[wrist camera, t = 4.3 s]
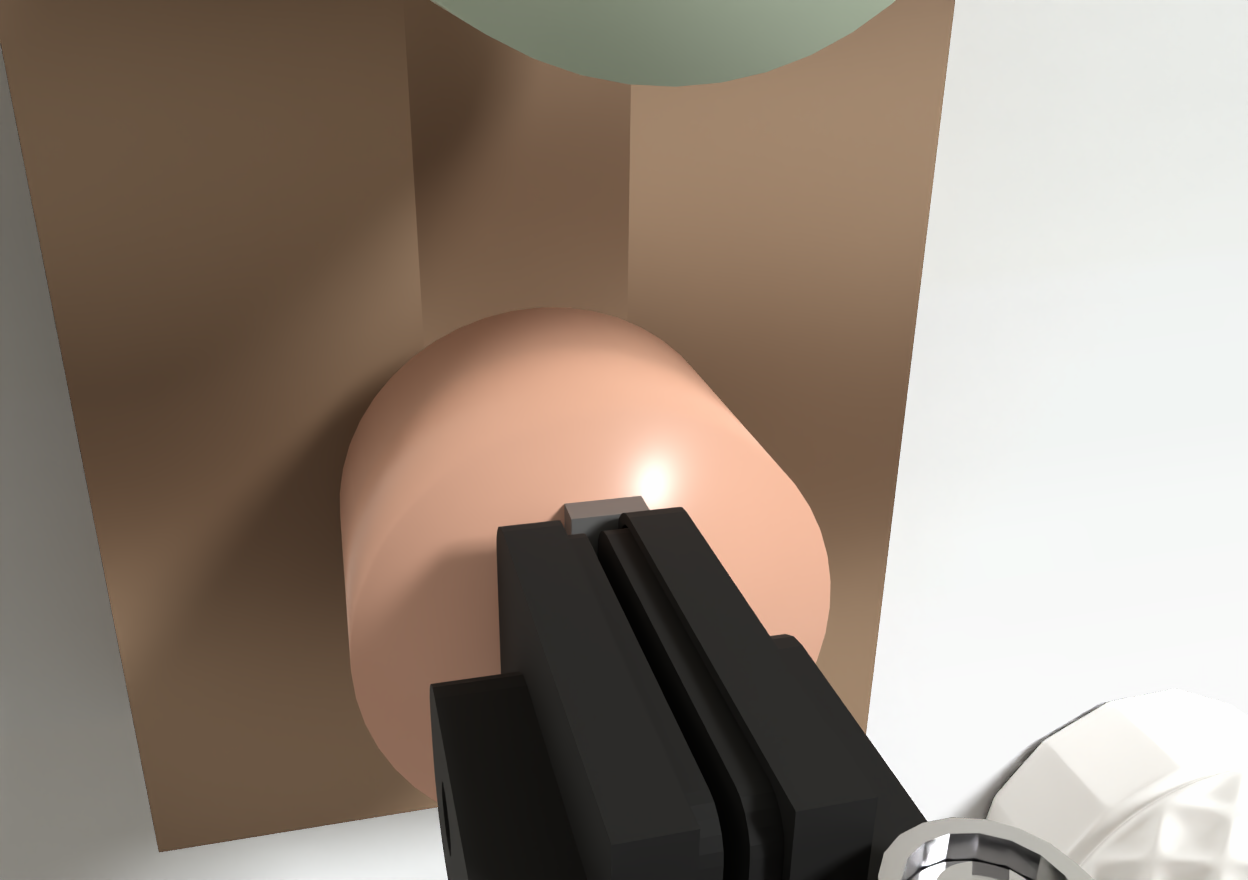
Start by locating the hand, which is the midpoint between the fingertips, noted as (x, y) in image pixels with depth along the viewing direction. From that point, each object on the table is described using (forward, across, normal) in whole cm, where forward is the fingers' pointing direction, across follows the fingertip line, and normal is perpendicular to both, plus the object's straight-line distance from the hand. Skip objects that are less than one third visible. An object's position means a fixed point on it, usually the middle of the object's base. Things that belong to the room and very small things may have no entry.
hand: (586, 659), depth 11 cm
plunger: (+7, 0, 0) cm, 7 cm away
